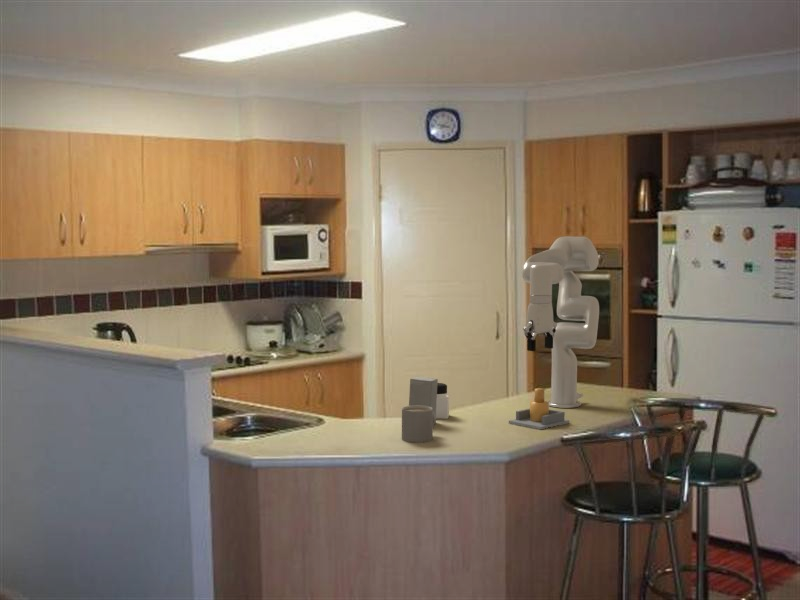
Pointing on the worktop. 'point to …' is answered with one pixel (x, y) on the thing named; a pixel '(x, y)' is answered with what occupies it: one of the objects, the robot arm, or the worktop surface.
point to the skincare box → (423, 392)
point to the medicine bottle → (442, 402)
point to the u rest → (547, 420)
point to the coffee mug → (417, 423)
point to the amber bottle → (538, 406)
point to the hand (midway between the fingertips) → (540, 349)
